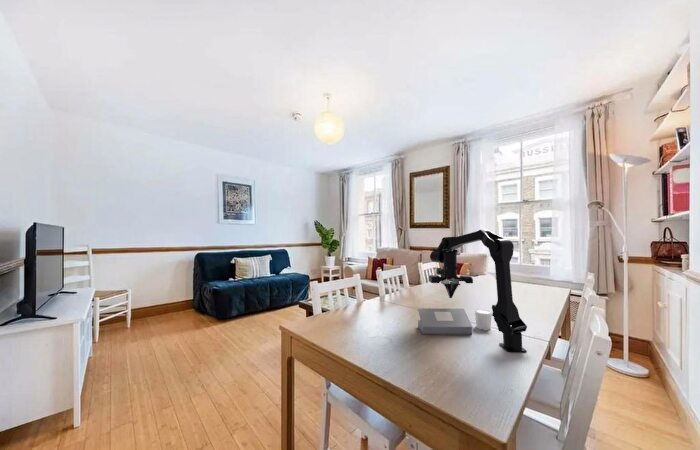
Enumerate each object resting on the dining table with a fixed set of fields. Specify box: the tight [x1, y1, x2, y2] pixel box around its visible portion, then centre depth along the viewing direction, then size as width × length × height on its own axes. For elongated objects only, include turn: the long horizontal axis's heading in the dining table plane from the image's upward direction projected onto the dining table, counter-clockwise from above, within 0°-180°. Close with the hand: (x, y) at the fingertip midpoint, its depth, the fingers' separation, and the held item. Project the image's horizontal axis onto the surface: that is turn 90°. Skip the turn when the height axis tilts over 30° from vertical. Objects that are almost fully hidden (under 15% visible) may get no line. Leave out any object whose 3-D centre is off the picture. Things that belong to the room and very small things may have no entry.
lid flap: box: [417, 307, 473, 329], centre depth 115 cm, size 10×20×1 cm, turn 89°
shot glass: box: [474, 309, 493, 331], centre depth 119 cm, size 7×7×7 cm
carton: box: [417, 319, 473, 336], centre depth 115 cm, size 9×20×3 cm, turn 89°
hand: (450, 297), depth 123 cm, fingers closed
